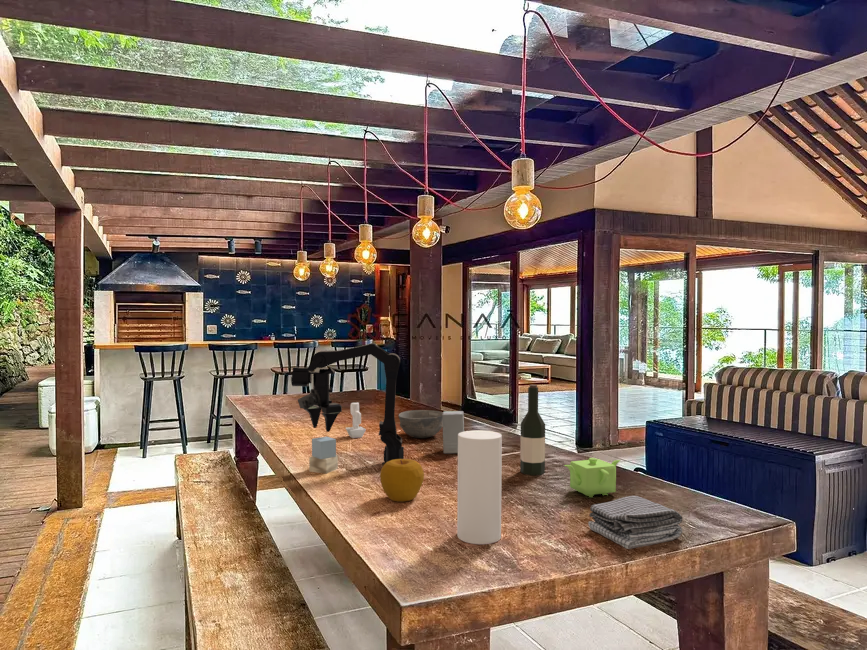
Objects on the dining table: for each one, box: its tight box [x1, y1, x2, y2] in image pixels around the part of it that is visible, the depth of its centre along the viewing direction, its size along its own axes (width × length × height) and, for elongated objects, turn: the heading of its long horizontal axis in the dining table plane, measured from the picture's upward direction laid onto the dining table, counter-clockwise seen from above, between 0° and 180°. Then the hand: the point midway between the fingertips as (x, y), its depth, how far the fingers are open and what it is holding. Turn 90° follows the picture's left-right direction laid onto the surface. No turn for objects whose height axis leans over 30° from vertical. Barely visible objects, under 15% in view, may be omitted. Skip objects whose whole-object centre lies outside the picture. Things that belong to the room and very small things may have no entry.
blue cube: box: [311, 436, 337, 459], centre depth 205 cm, size 6×6×6 cm
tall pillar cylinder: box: [456, 429, 503, 545], centre depth 145 cm, size 11×11×25 cm
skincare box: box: [442, 410, 465, 454], centre depth 232 cm, size 8×7×16 cm
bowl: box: [397, 409, 443, 439], centre depth 262 cm, size 21×21×10 cm
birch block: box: [308, 454, 339, 475], centre depth 205 cm, size 7×7×5 cm
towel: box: [587, 495, 683, 550], centre depth 148 cm, size 15×18×8 cm
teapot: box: [564, 457, 621, 498], centre depth 181 cm, size 15×13×11 cm
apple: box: [379, 458, 425, 503], centre depth 174 cm, size 13×13×11 cm
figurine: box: [345, 402, 367, 439], centre depth 260 cm, size 7×9×15 cm
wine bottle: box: [519, 384, 546, 476], centre depth 204 cm, size 8×8×30 cm
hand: (321, 429), depth 212 cm, fingers open, 9 cm apart
